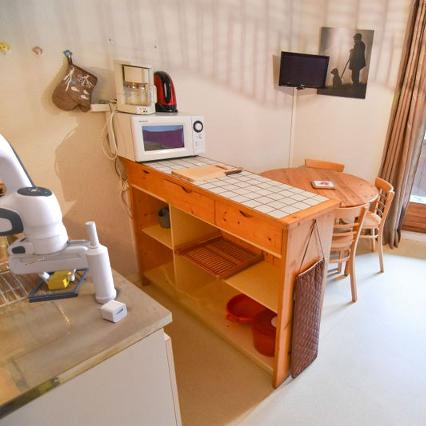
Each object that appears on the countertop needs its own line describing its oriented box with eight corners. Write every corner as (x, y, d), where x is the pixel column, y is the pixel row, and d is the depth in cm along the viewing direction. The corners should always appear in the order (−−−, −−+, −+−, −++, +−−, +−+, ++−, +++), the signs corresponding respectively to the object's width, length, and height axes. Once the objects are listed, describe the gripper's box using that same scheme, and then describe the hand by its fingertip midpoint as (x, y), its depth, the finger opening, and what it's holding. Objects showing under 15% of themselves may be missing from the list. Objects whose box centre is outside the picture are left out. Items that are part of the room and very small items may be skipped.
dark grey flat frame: (29, 302, 90) (27, 297, 90) (49, 276, 102) (47, 271, 101) (76, 297, 94) (74, 291, 93) (90, 272, 105) (89, 267, 105)
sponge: (66, 290, 96) (63, 280, 94) (50, 292, 94) (47, 282, 93) (73, 279, 101) (70, 269, 100) (58, 280, 100) (55, 271, 98)
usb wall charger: (114, 323, 86) (112, 311, 84) (95, 316, 88) (92, 304, 86) (127, 314, 89) (125, 302, 88) (108, 307, 91) (106, 296, 90)
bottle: (118, 291, 98) (103, 218, 88) (115, 302, 93) (99, 226, 84) (98, 294, 96) (81, 219, 86) (94, 305, 92) (75, 227, 82)
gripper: (94, 234, 98) (102, 271, 103) (11, 239, 91) (25, 279, 97) (87, 243, 92) (97, 283, 98) (-1, 250, 86) (14, 291, 91)
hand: (60, 281), depth 97 cm, fingers closed on sponge, 4 cm apart
